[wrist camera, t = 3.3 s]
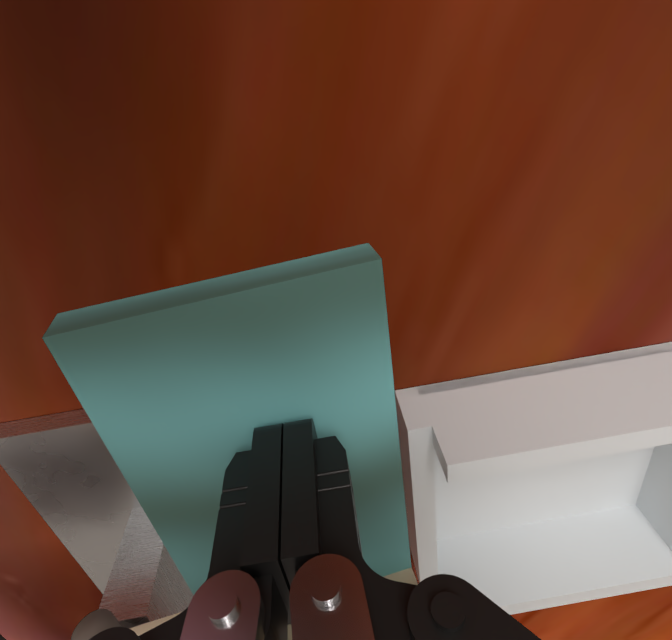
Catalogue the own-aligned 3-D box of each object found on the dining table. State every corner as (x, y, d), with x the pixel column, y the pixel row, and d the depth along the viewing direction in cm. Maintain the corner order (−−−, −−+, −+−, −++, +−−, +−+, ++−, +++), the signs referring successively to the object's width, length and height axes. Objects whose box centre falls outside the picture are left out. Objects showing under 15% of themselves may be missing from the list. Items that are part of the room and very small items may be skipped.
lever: (-624, 424, 10) (-1660, 869, 4) (343, 213, 13) (441, 328, 7) (-74, 739, 20) (-181, 991, 15) (394, 585, 23) (450, 749, 17)
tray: (394, 390, 20) (420, 470, 16) (698, 336, 20) (794, 403, 16) (409, 545, 26) (430, 629, 23) (641, 503, 27) (702, 579, 23)
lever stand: (-4, 424, 19) (-111, 562, 14) (229, 383, 19) (209, 505, 14) (137, 613, 27) (102, 742, 22) (298, 584, 27) (302, 707, 22)
